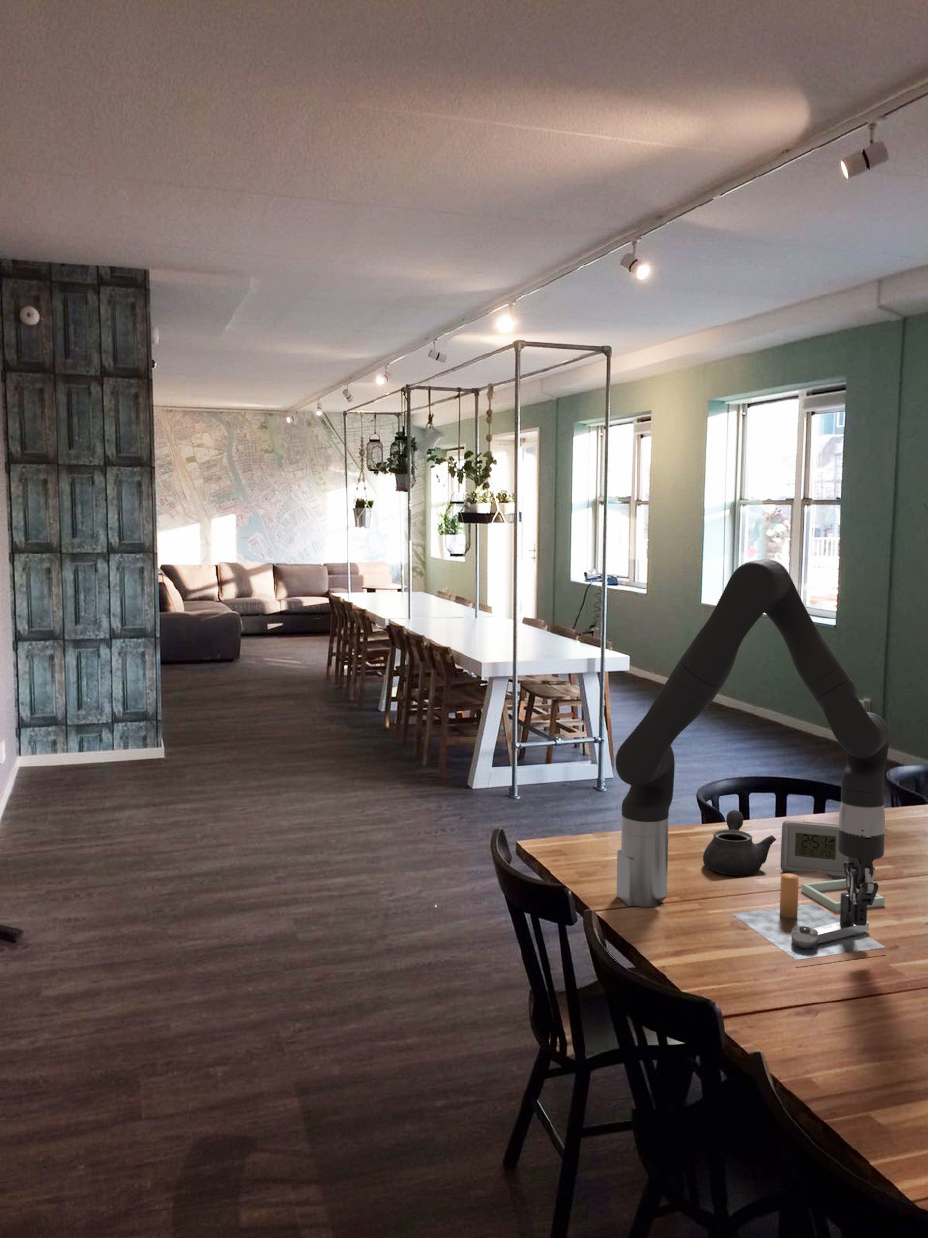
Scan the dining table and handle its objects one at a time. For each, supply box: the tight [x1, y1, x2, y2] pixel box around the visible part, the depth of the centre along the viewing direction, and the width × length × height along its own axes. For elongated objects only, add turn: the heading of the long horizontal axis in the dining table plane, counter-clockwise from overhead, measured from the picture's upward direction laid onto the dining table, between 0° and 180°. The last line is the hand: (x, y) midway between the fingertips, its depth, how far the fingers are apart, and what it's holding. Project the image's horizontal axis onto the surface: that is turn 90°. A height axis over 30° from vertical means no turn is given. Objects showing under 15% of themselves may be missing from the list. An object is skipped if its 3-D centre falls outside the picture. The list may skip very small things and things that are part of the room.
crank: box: [791, 892, 870, 948], centre depth 184 cm, size 16×4×7 cm, turn 116°
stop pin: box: [779, 873, 800, 918], centre depth 195 cm, size 3×3×8 cm
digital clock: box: [780, 820, 849, 880], centre depth 222 cm, size 16×9×11 cm, turn 59°
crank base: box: [731, 903, 887, 969], centre depth 188 cm, size 18×21×2 cm
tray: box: [800, 878, 886, 913], centre depth 204 cm, size 11×11×3 cm
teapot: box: [702, 809, 777, 876], centre depth 227 cm, size 19×15×10 cm
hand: (858, 924), depth 182 cm, fingers closed
